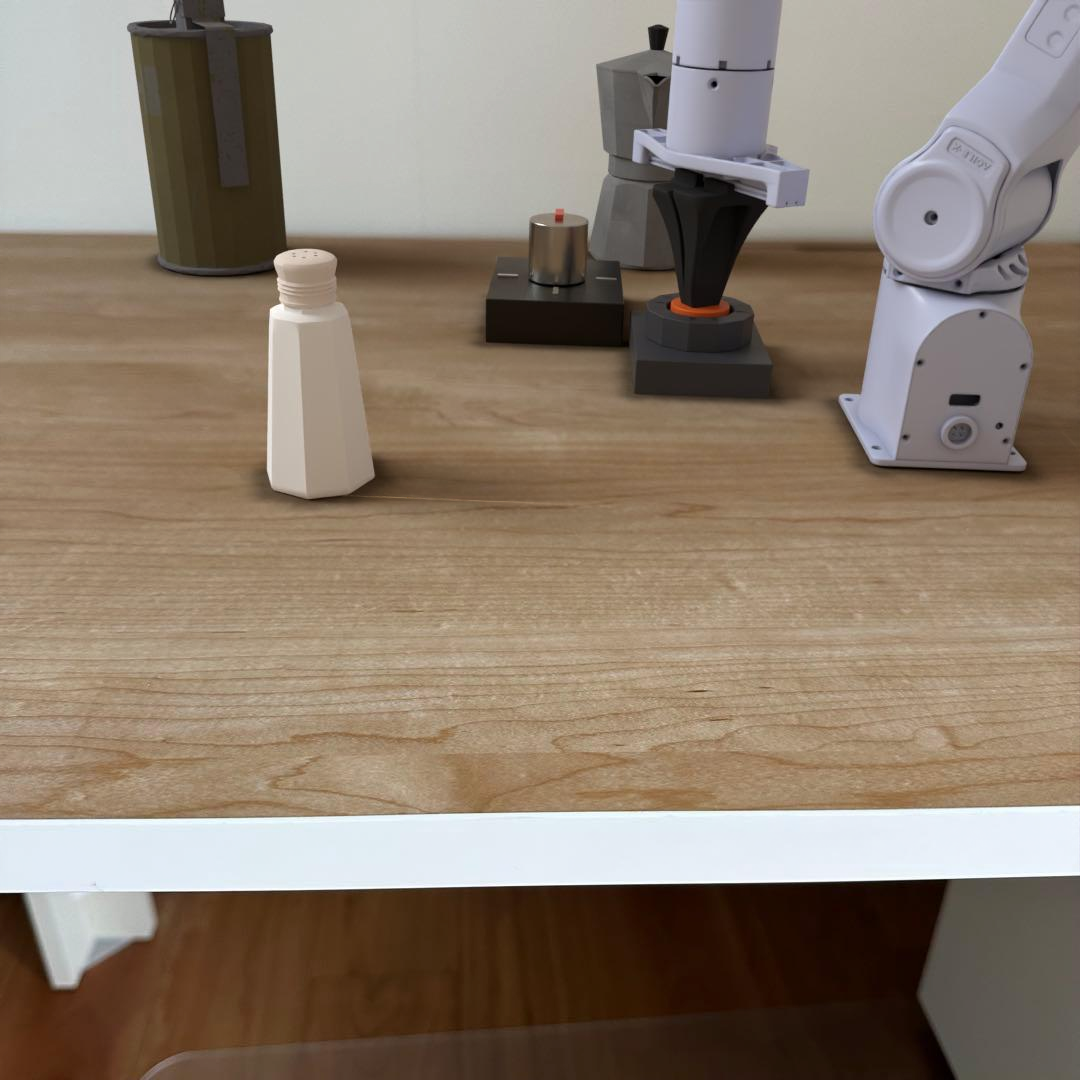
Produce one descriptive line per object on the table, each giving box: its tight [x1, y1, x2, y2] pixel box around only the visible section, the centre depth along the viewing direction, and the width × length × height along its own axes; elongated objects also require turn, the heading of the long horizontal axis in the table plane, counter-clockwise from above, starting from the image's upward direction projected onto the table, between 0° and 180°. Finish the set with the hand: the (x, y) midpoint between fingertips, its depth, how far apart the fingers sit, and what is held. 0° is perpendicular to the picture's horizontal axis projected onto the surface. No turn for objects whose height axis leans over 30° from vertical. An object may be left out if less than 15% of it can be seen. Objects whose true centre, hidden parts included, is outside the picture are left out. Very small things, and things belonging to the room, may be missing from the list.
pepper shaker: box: [266, 248, 376, 500], centre depth 54 cm, size 5×5×11 cm
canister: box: [126, 0, 290, 277], centre depth 87 cm, size 11×10×20 cm
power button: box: [670, 297, 730, 318], centre depth 70 cm, size 4×4×2 cm
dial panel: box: [485, 256, 625, 348], centre depth 79 cm, size 11×9×3 cm
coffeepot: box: [587, 23, 675, 271], centre depth 93 cm, size 15×9×18 cm, turn 176°
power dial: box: [527, 208, 589, 286], centre depth 78 cm, size 4×4×4 cm
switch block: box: [627, 292, 774, 400], centre depth 71 cm, size 10×8×4 cm
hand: (700, 304), depth 70 cm, fingers closed, pressing on power button
